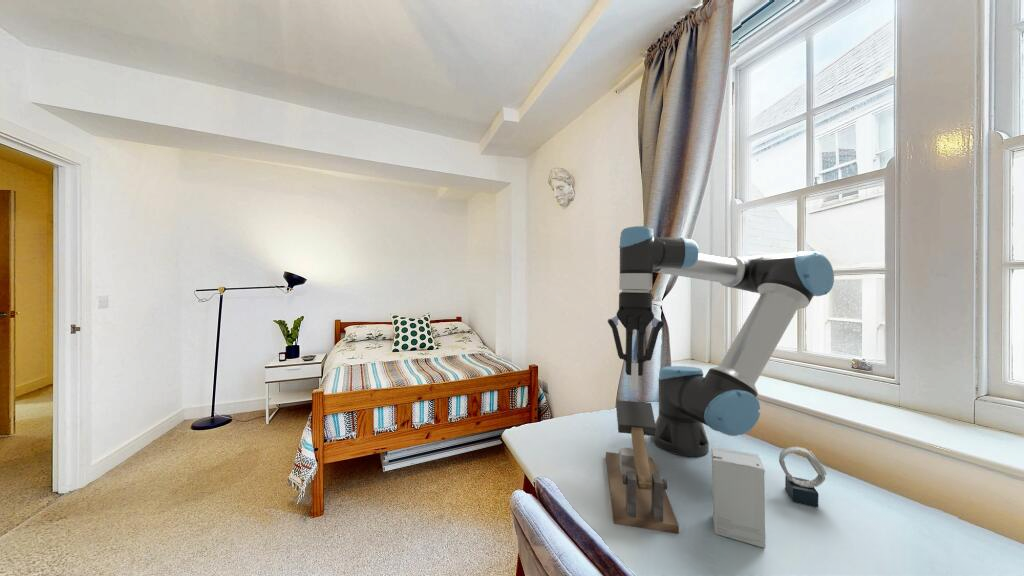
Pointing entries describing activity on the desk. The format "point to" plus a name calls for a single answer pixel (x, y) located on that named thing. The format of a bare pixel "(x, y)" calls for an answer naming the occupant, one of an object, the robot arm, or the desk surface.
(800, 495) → the watch
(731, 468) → the skincare box
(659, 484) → the press base
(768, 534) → the desk surface
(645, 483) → the lever
